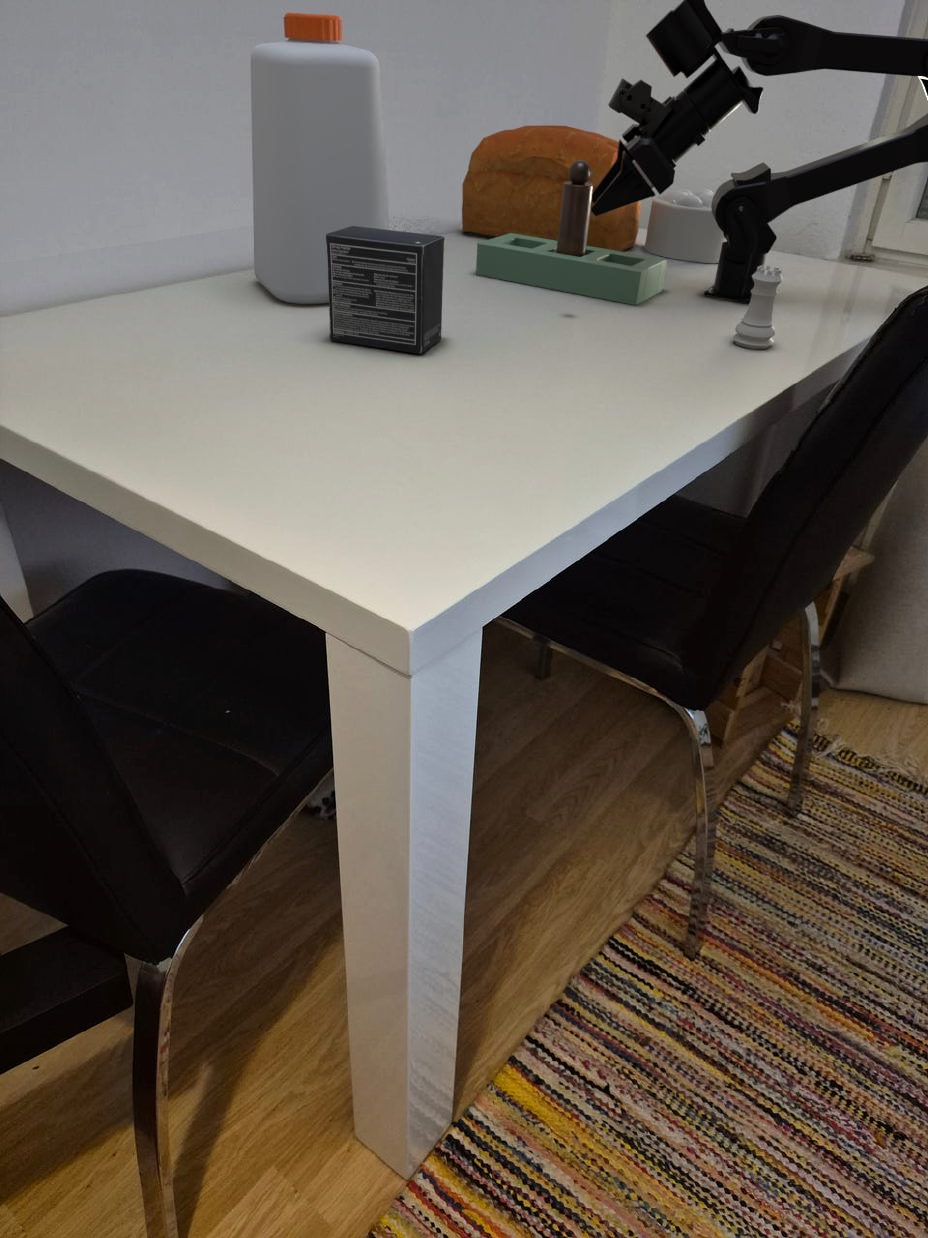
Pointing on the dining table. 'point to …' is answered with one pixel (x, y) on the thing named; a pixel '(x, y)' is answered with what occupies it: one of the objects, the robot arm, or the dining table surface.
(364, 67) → the plastic bottle
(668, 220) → the lumpy-topped squat cylinder
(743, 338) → the rook chess piece
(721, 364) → the dining table surface
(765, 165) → the robot arm
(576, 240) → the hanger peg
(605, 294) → the green three-slot holder
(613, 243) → the bread
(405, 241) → the small box
